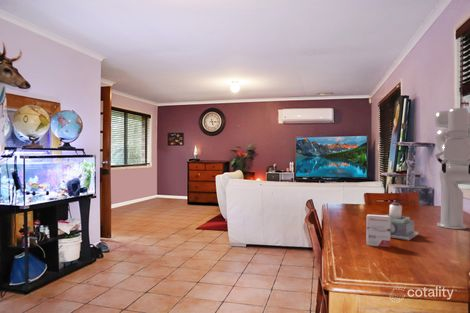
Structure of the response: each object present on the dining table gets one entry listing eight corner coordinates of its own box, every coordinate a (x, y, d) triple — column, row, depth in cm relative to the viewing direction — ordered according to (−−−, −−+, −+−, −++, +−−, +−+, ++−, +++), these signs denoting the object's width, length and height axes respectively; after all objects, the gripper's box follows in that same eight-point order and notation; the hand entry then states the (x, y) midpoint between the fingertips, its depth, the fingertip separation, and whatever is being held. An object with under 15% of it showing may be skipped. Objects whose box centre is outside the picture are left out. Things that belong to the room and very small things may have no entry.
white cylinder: (391, 219, 155) (392, 201, 154) (402, 220, 151) (403, 203, 151) (387, 220, 151) (388, 202, 151) (398, 222, 147) (399, 204, 147)
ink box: (389, 244, 133) (389, 215, 133) (390, 247, 128) (391, 217, 128) (365, 242, 135) (366, 213, 135) (366, 245, 131) (366, 215, 131)
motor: (380, 228, 162) (380, 212, 162) (418, 234, 151) (418, 217, 151) (368, 234, 150) (369, 216, 150) (408, 240, 139) (408, 222, 139)
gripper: (433, 135, 154) (433, 172, 154) (480, 134, 142) (479, 174, 142) (437, 136, 159) (436, 172, 159) (482, 135, 148) (481, 174, 148)
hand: (456, 173), depth 151 cm, fingers open, 9 cm apart
